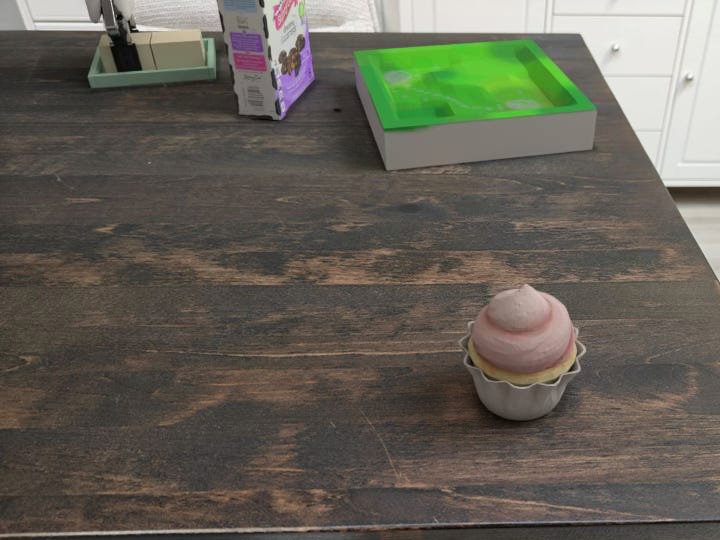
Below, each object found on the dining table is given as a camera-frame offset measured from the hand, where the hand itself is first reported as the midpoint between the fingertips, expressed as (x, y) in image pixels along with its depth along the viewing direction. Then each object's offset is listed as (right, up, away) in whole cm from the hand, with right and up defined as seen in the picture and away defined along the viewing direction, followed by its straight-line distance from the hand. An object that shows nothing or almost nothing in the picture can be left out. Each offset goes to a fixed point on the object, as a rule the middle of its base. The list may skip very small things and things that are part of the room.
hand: (132, 65), depth 105 cm
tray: (+47, -10, -8) cm, 49 cm away
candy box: (+22, -7, -5) cm, 24 cm away
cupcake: (+52, -44, -47) cm, 83 cm away
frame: (+3, 0, +1) cm, 3 cm away
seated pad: (+6, +1, +2) cm, 7 cm away
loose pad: (0, 0, 0) cm, 0 cm away
